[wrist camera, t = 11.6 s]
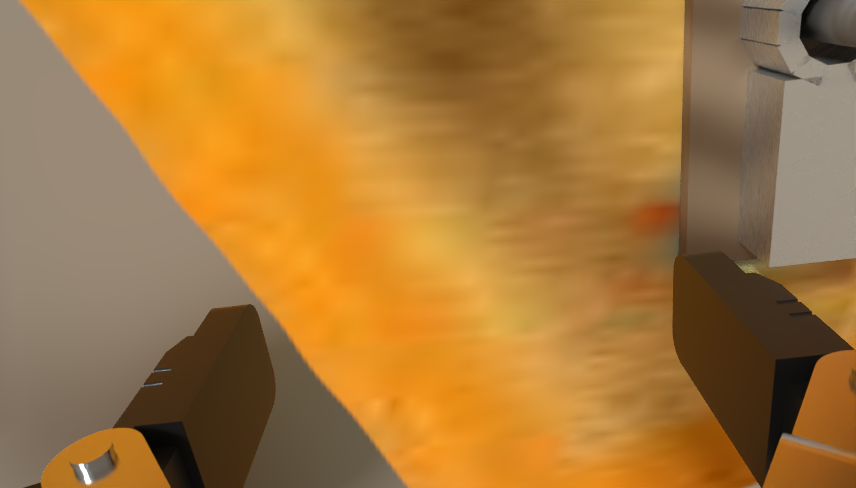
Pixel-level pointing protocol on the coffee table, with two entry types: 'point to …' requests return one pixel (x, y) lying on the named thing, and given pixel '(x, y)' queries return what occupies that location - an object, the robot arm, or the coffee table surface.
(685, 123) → the hinge base
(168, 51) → the coffee table surface
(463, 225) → the coffee table surface
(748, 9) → the hinge leaf
